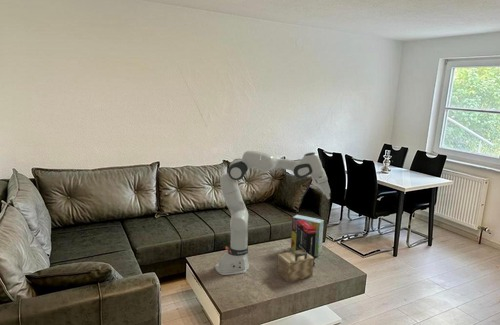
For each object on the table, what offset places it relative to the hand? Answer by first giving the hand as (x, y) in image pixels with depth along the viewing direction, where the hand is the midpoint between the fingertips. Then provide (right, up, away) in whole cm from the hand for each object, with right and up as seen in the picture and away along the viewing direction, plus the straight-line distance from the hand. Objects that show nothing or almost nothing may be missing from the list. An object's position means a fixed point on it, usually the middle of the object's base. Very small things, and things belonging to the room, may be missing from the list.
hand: (327, 196), depth 218 cm
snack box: (-7, -44, +39) cm, 59 cm away
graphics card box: (-11, -47, +24) cm, 54 cm away
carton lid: (-19, -38, +4) cm, 43 cm away
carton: (-19, -50, +6) cm, 54 cm away
